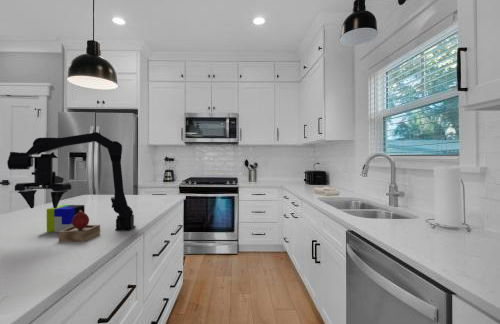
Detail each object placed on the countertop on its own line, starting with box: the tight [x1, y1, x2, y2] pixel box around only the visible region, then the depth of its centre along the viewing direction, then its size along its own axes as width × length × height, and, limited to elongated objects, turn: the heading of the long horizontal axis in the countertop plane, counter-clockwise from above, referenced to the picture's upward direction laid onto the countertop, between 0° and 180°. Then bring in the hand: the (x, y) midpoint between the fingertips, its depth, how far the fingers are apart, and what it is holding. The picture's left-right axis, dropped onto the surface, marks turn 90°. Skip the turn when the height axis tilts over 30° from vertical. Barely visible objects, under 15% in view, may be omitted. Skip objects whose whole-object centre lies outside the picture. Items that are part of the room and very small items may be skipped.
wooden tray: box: [58, 224, 101, 242], centre depth 104 cm, size 10×10×4 cm
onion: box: [72, 210, 90, 230], centre depth 104 cm, size 6×6×8 cm
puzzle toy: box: [46, 204, 86, 233], centre depth 117 cm, size 10×10×10 cm
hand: (43, 208), depth 103 cm, fingers open, 9 cm apart
